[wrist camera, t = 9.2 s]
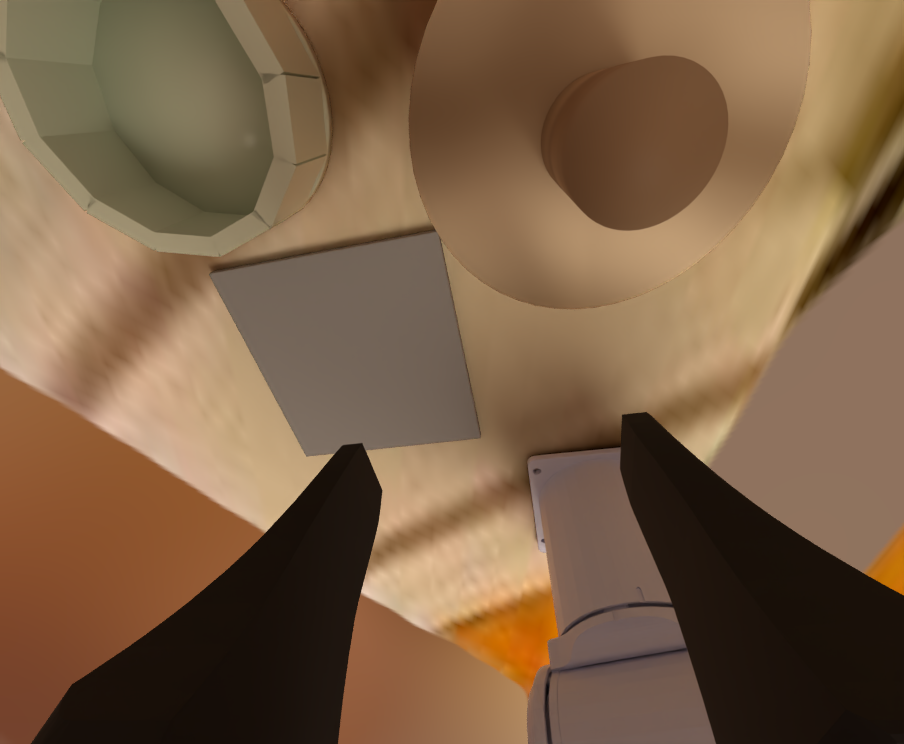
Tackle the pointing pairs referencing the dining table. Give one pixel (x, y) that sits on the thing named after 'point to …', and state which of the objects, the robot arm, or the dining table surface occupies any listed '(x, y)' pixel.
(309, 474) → the dining table surface
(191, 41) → the sage bowl
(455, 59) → the lid
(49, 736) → the robot arm
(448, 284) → the slate mat
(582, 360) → the dining table surface
